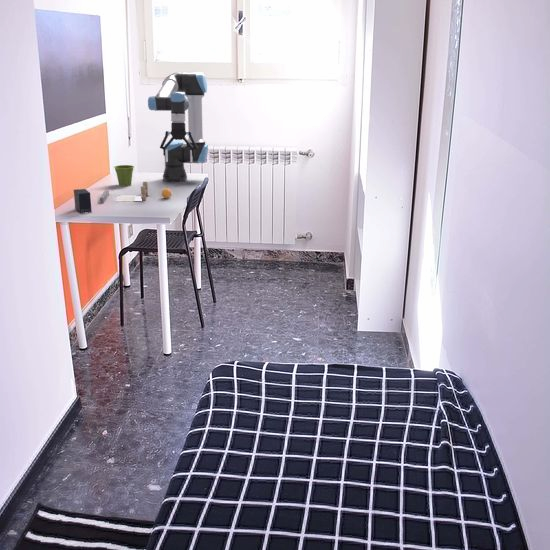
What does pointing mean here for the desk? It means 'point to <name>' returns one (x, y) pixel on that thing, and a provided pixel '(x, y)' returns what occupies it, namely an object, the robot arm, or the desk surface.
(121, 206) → the desk surface
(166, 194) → the ball
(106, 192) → the stopper wall
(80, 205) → the small box
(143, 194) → the post
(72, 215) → the desk surface
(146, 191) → the post
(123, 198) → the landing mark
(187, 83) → the robot arm
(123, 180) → the plant pot
